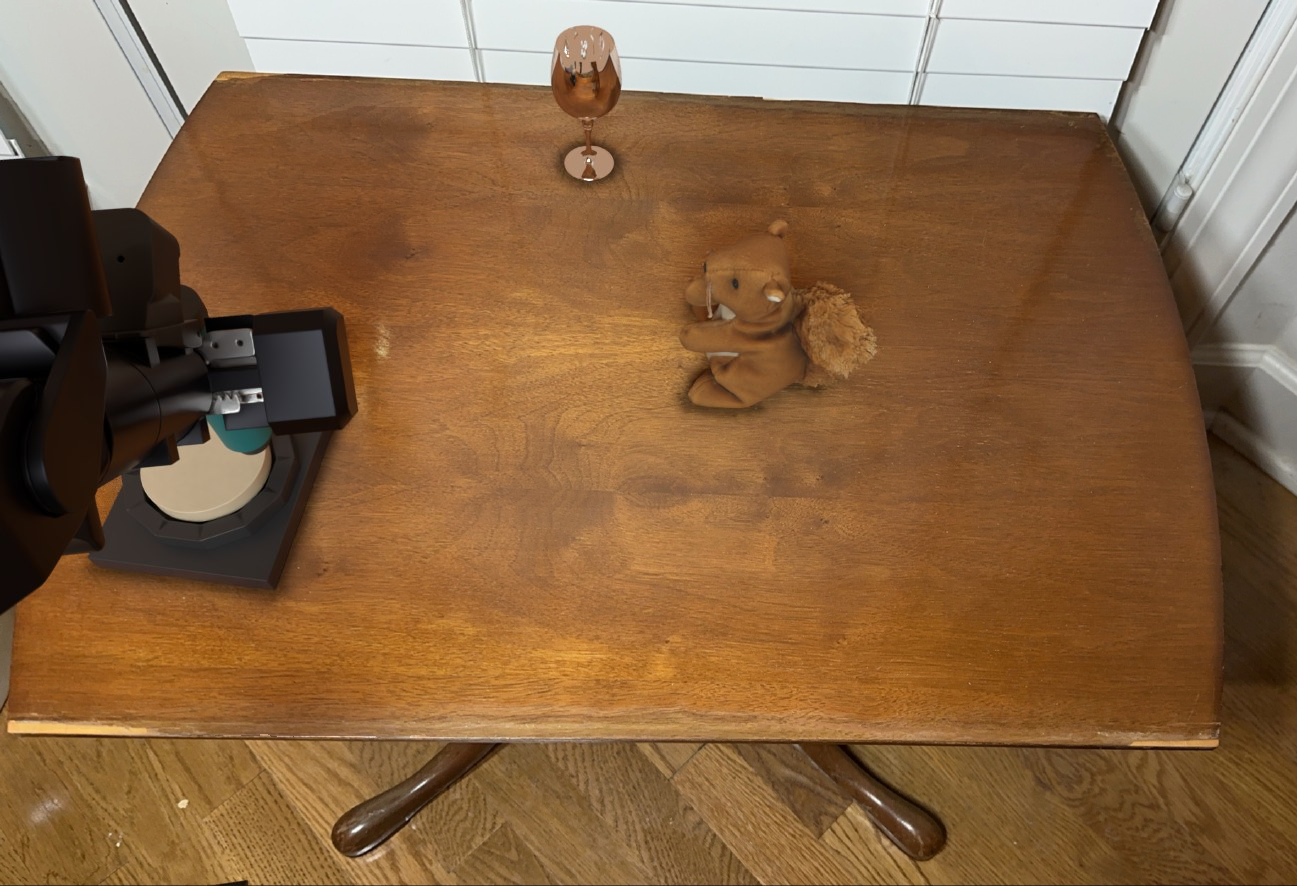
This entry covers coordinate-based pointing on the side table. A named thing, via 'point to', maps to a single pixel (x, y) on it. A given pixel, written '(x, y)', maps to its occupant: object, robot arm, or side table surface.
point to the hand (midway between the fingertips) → (215, 360)
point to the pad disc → (206, 480)
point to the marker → (235, 439)
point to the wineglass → (586, 91)
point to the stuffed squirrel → (768, 325)
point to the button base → (217, 525)
